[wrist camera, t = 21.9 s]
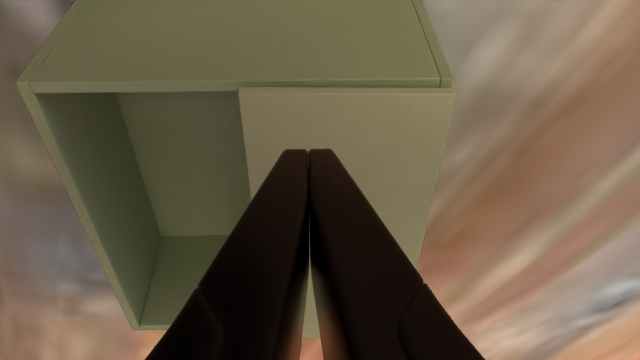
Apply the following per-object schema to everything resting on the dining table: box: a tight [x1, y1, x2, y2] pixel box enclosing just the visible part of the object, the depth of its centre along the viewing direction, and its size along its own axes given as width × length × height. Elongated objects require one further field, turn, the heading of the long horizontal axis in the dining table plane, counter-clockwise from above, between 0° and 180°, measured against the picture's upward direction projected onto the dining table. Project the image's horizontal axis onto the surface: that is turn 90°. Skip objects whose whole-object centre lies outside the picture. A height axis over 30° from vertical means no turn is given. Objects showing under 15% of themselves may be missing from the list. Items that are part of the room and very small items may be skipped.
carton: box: [16, 0, 454, 330], centre depth 22 cm, size 14×13×6 cm
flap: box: [238, 87, 457, 338], centre depth 19 cm, size 14×6×1 cm, turn 0°
